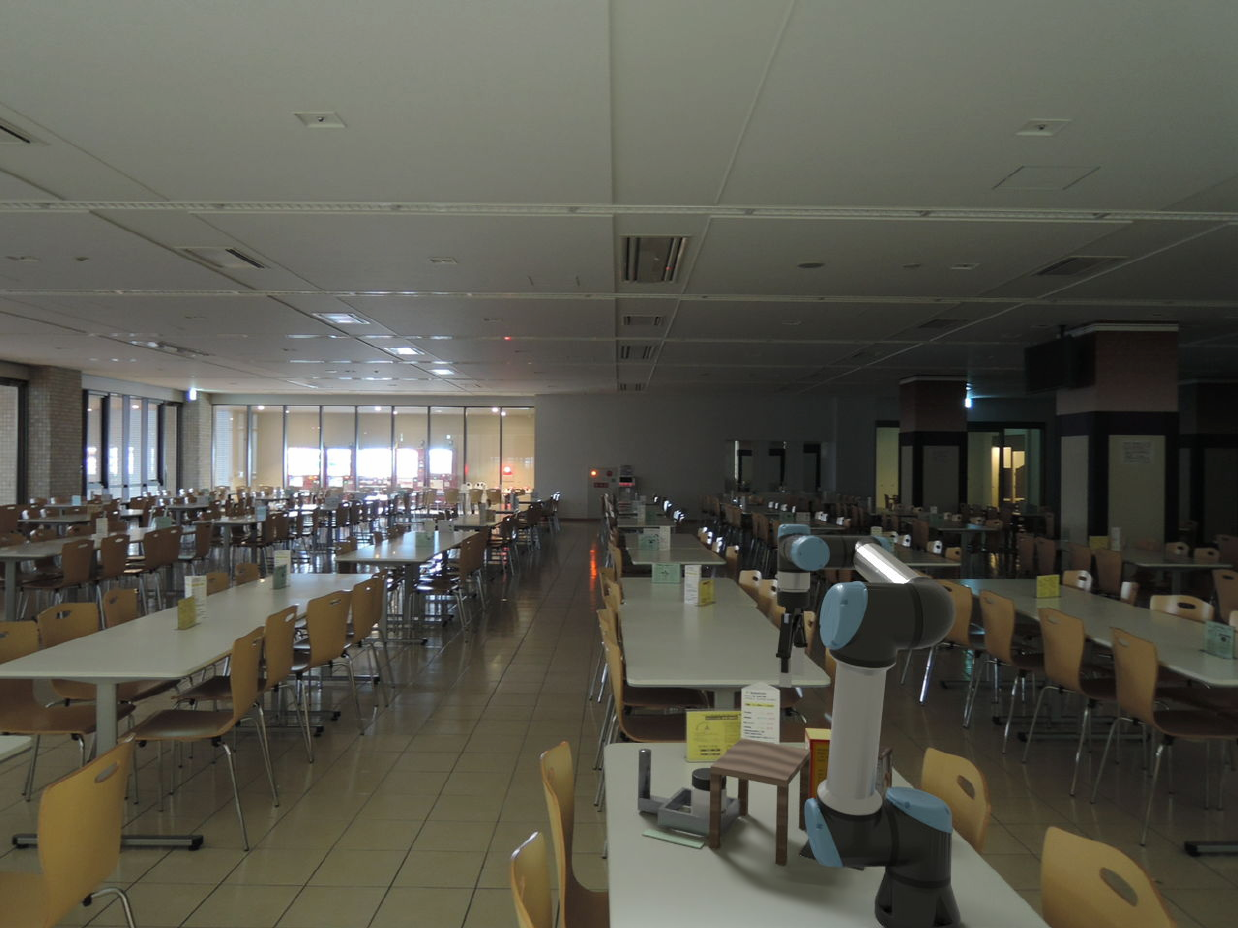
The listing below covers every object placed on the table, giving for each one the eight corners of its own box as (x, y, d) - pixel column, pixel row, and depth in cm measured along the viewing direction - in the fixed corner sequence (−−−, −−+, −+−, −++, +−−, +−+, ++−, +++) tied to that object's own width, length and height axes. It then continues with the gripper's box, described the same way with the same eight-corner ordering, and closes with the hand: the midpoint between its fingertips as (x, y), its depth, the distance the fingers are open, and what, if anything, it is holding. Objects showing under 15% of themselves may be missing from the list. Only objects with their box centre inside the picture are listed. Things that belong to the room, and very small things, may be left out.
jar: (703, 835, 188) (704, 782, 188) (682, 822, 195) (683, 771, 195) (734, 827, 193) (735, 776, 193) (712, 814, 200) (713, 765, 200)
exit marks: (700, 848, 182) (700, 847, 182) (642, 835, 188) (642, 833, 188) (736, 808, 204) (736, 807, 204) (683, 797, 210) (683, 796, 210)
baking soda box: (803, 786, 219) (805, 726, 219) (828, 787, 219) (830, 727, 219) (808, 800, 210) (810, 737, 210) (834, 802, 209) (836, 738, 209)
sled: (719, 839, 185) (720, 777, 185) (624, 818, 195) (626, 758, 196) (740, 815, 198) (741, 757, 198) (650, 796, 209) (652, 740, 209)
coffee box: (865, 806, 207) (867, 742, 207) (892, 812, 204) (893, 747, 204) (855, 819, 199) (857, 752, 199) (882, 825, 196) (884, 757, 196)
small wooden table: (784, 865, 175) (786, 780, 175) (708, 847, 182) (710, 765, 182) (809, 826, 194) (810, 749, 195) (740, 811, 202) (741, 738, 202)
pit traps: (862, 870, 173) (862, 868, 173) (798, 855, 179) (798, 854, 179) (870, 850, 182) (870, 849, 182) (809, 837, 188) (809, 836, 188)
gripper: (789, 583, 207) (787, 668, 207) (764, 594, 185) (762, 690, 184) (819, 585, 204) (818, 671, 204) (797, 596, 181) (796, 694, 181)
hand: (791, 680), depth 194 cm, fingers open, 13 cm apart
